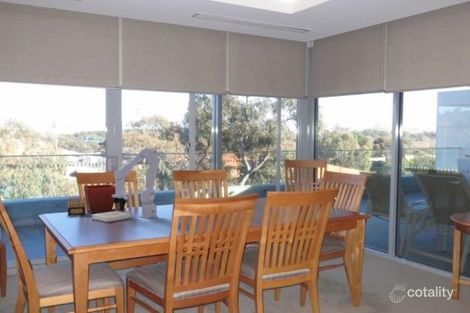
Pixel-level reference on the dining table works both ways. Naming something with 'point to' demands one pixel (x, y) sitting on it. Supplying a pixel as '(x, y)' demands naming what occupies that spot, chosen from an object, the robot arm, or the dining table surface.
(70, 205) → the ammunition clip
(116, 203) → the walnut block
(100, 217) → the tray
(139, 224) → the dining table surface
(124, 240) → the dining table surface
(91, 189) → the plant pot
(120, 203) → the robot arm
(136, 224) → the dining table surface
